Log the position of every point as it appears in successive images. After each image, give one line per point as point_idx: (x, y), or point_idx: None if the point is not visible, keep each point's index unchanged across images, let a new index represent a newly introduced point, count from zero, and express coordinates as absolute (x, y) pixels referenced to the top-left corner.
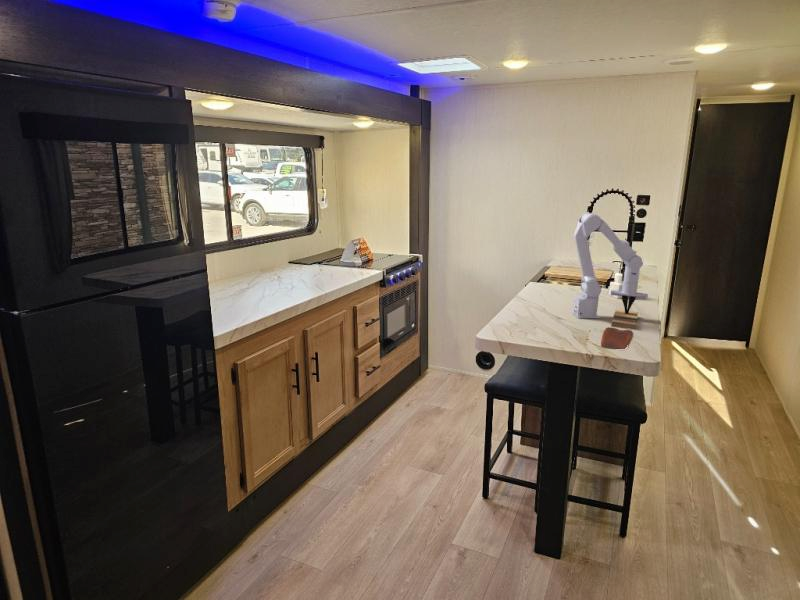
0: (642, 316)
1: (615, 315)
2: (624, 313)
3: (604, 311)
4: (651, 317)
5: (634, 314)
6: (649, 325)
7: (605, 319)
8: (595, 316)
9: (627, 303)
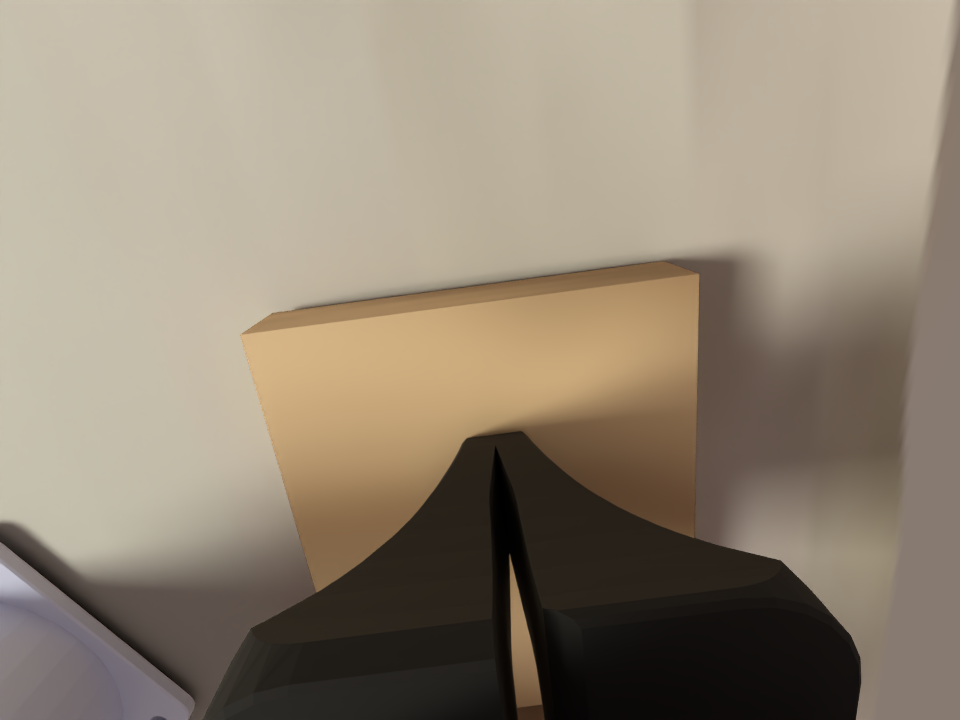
0: (742, 153)
1: None
2: None
3: (44, 237)
4: (903, 118)
5: (640, 480)
6: None
7: None
8: (122, 718)
9: (495, 560)
